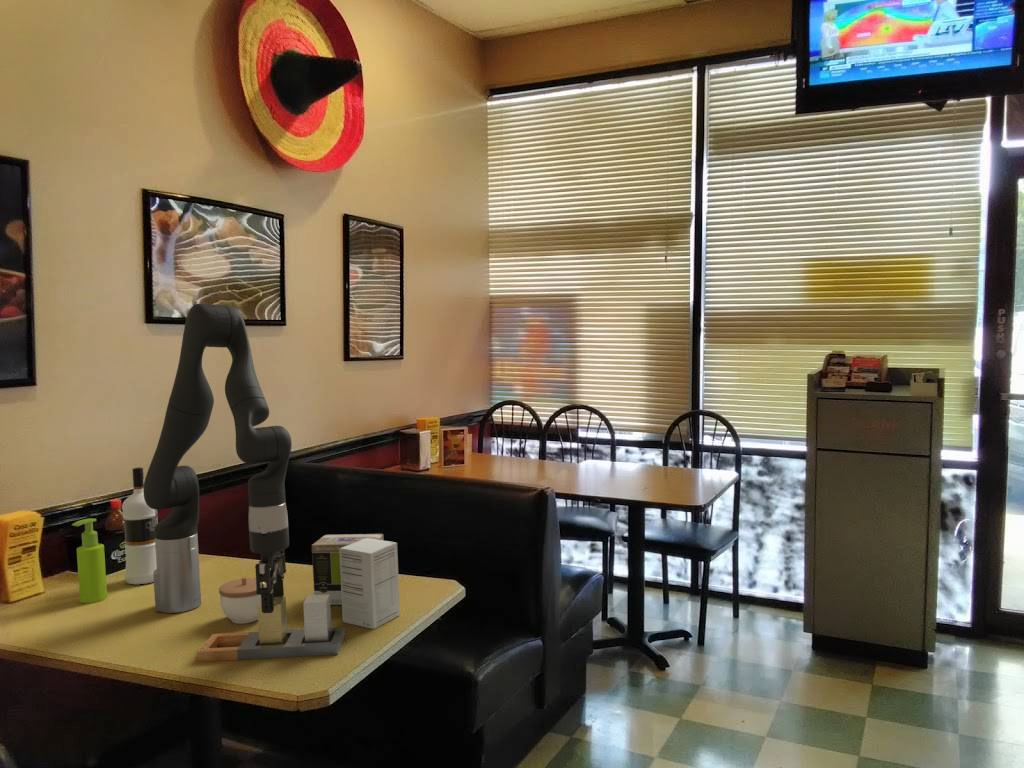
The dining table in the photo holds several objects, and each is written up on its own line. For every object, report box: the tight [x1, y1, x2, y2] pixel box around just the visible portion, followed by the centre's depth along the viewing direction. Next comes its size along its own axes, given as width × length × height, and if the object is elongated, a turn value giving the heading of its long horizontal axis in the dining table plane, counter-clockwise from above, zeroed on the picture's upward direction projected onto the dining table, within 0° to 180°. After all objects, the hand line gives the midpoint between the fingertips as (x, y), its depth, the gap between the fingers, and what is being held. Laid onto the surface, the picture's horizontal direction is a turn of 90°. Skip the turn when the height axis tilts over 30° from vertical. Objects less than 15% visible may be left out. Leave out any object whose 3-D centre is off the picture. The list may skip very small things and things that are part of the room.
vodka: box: [121, 467, 159, 586], centre depth 202 cm, size 9×9×30 cm
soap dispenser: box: [71, 517, 108, 604], centre depth 188 cm, size 6×7×20 cm
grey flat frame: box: [197, 626, 346, 663], centre depth 156 cm, size 27×9×2 cm, turn 94°
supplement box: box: [339, 538, 401, 630], centre depth 171 cm, size 10×9×17 cm
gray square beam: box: [302, 594, 332, 643], centre depth 157 cm, size 4×4×10 cm
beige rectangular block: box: [257, 596, 288, 646], centre depth 156 cm, size 4×4×10 cm
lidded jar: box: [218, 576, 267, 625], centre depth 173 cm, size 11×11×9 cm
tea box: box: [311, 533, 385, 606], centre depth 185 cm, size 15×10×15 cm, turn 84°
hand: (273, 604), depth 156 cm, fingers open, 8 cm apart
